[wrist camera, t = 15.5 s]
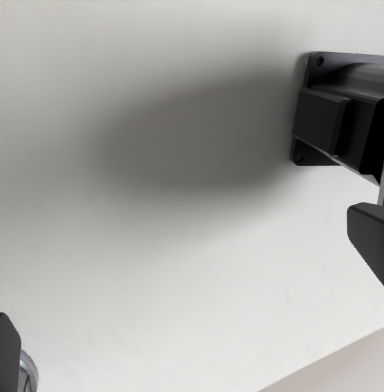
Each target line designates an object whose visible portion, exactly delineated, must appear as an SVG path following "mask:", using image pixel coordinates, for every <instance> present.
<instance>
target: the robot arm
mask: <svg viewBox="0 0 384 392" xmlns="http://www.w3.org/2000/svg"><path fill="white" fill-rule="evenodd" d="M318 57H319V58H320V63H319V64H318V65H316V59H317V58H318ZM292 134H293V135H294V138H293V143H292V149H291V154H290V160H291V162H293V163H294V164H295V165H297V166H344V167H346V168H347V169H349V170H351V171H353V172H354V173H356V174H358V175H359V176H361V177H363V178H365V179H366V180H368V181H370V182H372V183H373V184H375V185H377V186H379V187H380V190H379V196H378V203H377V205H375V204H370V203H366V202H362V203H358V204H355V205H352V206H350V207H349V208H348V210H347V234H348V237H349V240H350V241H351V243H352V244H353V246H354V247H355V248H356V250H357V251H358V252H359V254H360V255H361V256H362V258H363V259H364V260H365V262H366V263H367V264H368V266H369V267H370V269H371V270H372V271H373V273H374V274H375V275H376V277H377V278H378V279H379V281H380V282H381V283H382V284H383V286H384V56H379V55H364V54H350V53H336V52H321V51H317V52H314V53H312V54H311V55H310V56H309V59H308V63H307V68H306V73H305V79H304V84H303V89H302V90H301V91H300V93H299V98H298V104H297V109H296V115H295V120H294V126H293V131H292ZM299 154H301V158H300V159H299V160H297V156H298V155H299ZM20 356H21V338H20V335H19V333H18V332H17V330H16V329H15V327H14V325H13V324H12V322H11V321H10V319H9V317H8V316H7V315H6V314H5V313H3V312H0V392H18V383H19V369H20Z"/></svg>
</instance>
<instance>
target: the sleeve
mask: <svg viewBox="0 0 384 392" xmlns="http://www.w3.org/2000/svg"><path fill="white" fill-rule="evenodd" d="M37 386H38V372H37V368H36V366H35V364H34V362H33V361H32V359H31V358H30V357H29V356H28V355H27V354H26V353H25V352H24V351H23V350H22V349H21V356H20V369H19V383H18V392H36V391H37Z"/></svg>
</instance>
